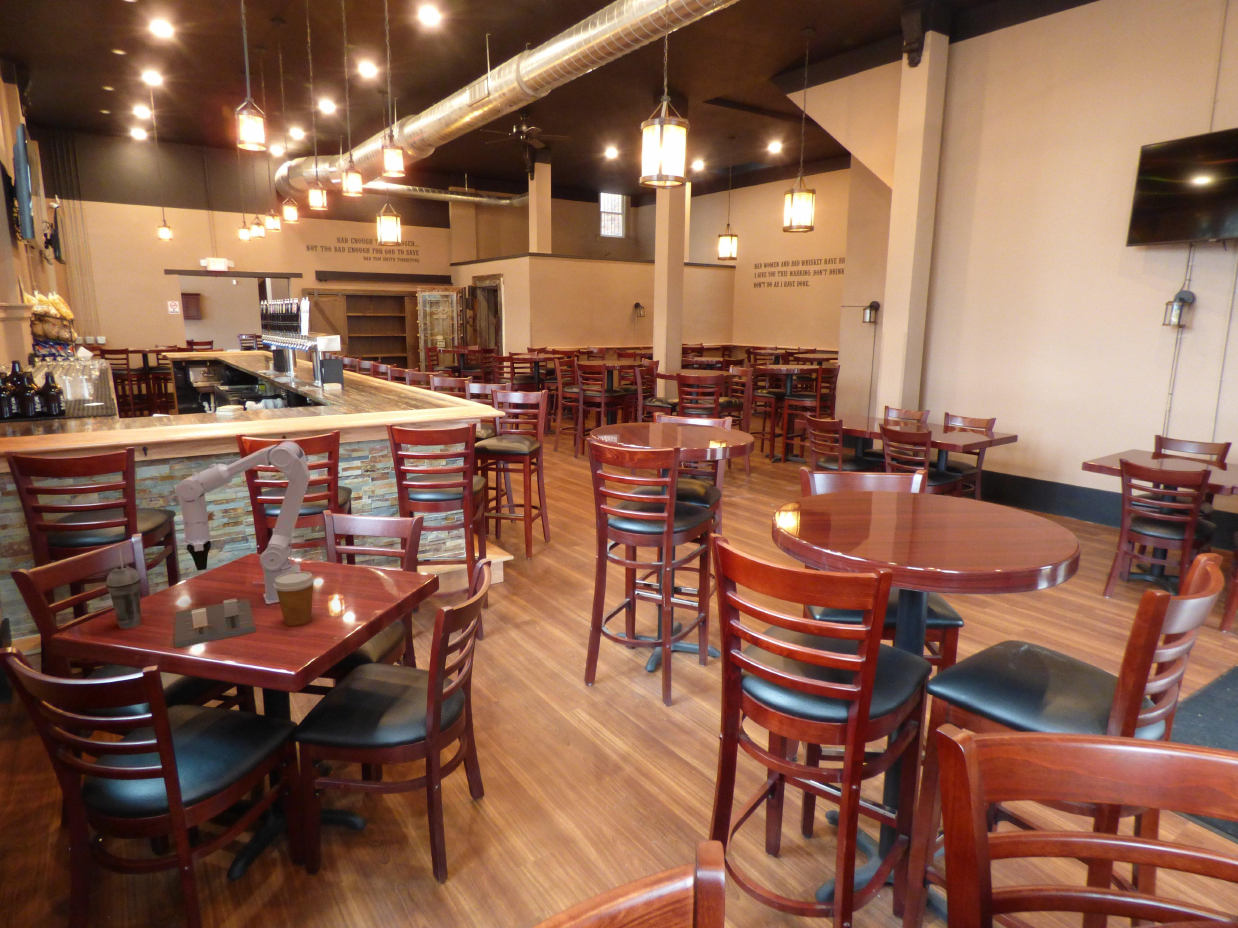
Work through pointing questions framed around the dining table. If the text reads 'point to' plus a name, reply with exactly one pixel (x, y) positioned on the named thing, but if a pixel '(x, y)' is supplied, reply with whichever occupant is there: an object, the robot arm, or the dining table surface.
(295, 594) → the disposable coffee cup
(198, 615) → the fader cap ivory
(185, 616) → the mixing console
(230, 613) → the fader cap grey
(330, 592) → the dining table surface
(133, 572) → the beverage cup
